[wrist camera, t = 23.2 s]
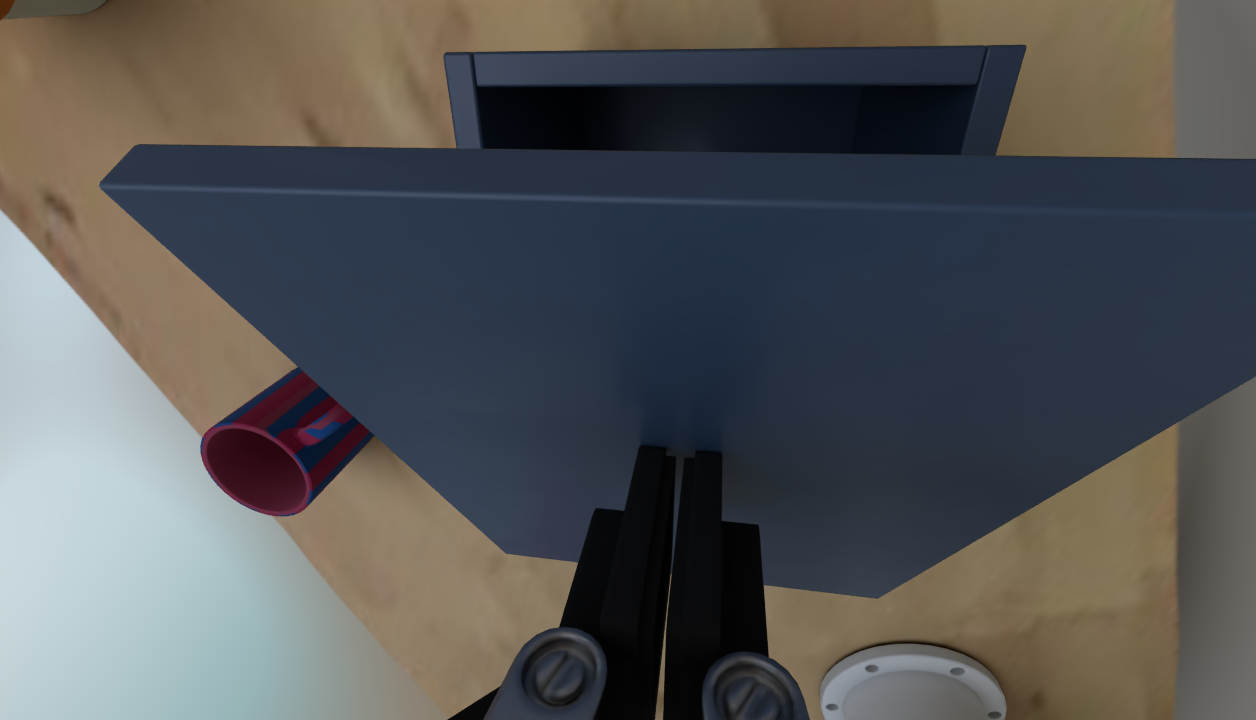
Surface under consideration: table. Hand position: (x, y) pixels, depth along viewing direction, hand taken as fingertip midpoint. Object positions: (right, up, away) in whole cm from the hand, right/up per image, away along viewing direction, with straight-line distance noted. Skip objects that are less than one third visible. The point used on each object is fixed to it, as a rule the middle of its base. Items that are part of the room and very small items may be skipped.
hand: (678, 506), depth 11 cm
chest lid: (0, +1, +2) cm, 2 cm away
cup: (-20, 0, +26) cm, 32 cm away
